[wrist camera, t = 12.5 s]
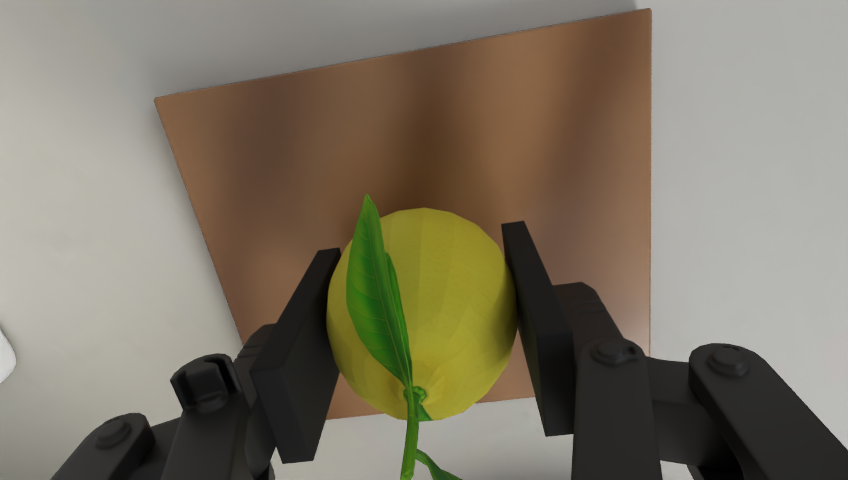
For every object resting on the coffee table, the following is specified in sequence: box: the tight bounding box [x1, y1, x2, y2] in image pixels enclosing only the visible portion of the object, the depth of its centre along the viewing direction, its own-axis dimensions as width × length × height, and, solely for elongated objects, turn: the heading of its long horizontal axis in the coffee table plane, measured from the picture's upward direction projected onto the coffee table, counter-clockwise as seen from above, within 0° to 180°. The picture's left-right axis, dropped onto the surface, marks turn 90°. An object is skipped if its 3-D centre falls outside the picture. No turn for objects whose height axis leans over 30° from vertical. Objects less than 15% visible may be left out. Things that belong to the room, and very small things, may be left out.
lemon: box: [326, 194, 518, 480], centre depth 13 cm, size 7×6×10 cm
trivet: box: [154, 8, 652, 420], centre depth 18 cm, size 16×14×1 cm
